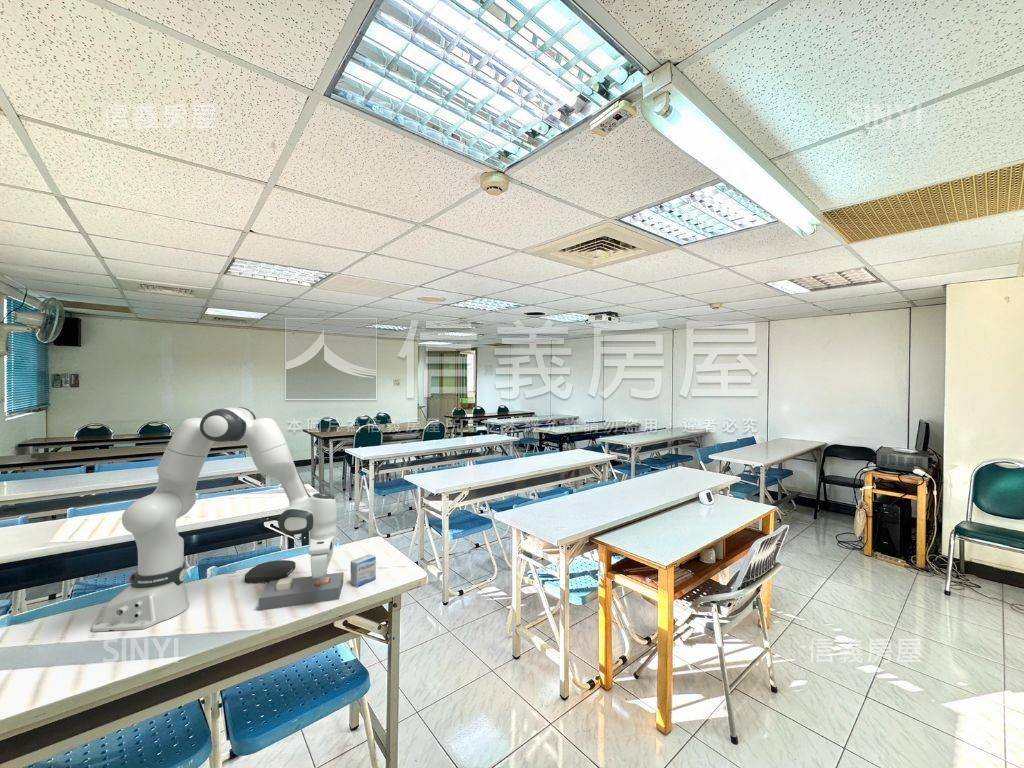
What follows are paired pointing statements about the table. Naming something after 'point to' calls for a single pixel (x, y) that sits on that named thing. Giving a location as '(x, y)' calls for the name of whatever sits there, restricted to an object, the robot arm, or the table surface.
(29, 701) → the table surface
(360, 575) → the medicine box
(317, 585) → the terracotta key
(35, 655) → the table surface
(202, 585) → the table surface
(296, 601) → the key panel
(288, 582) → the sand key
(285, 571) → the media streaming box
